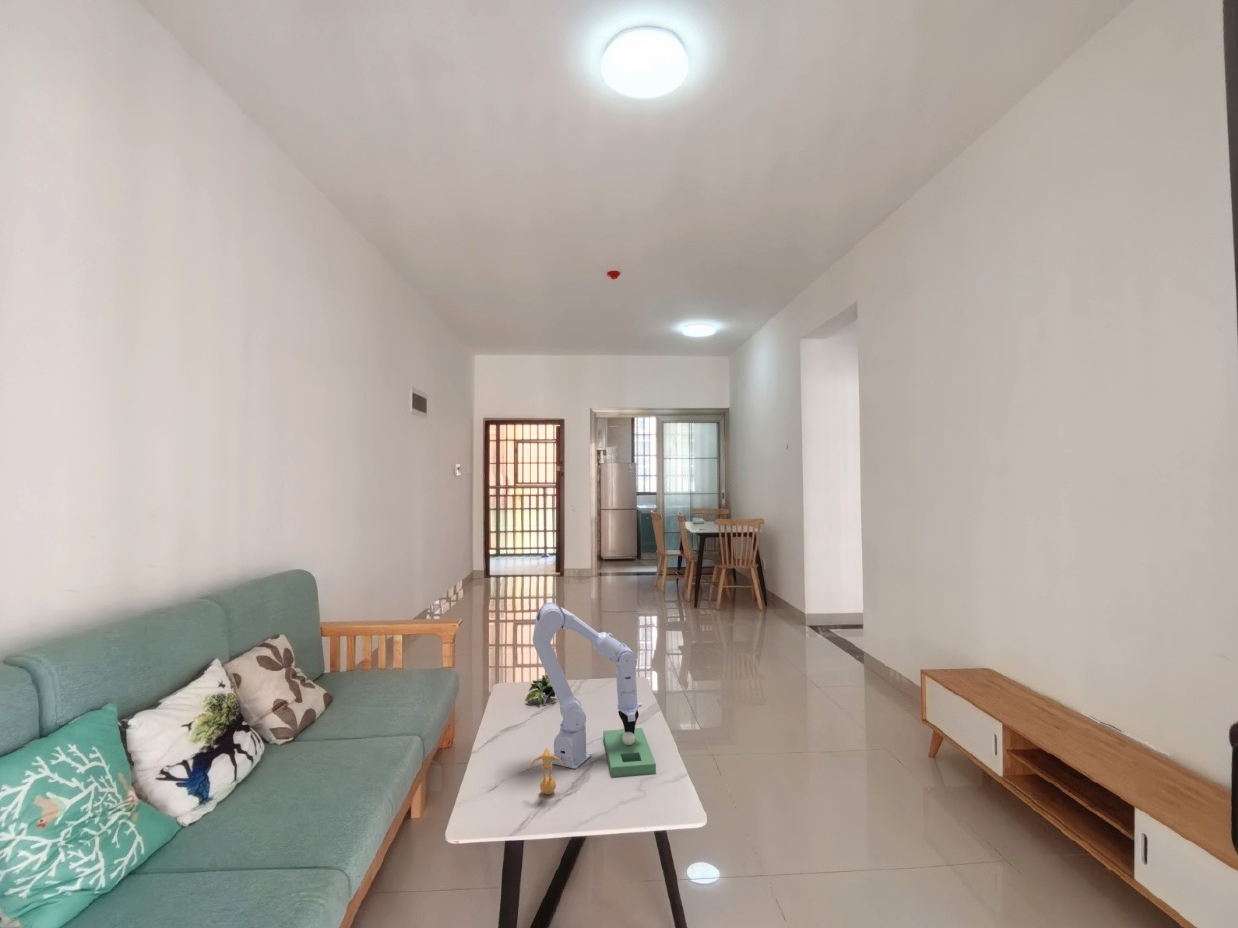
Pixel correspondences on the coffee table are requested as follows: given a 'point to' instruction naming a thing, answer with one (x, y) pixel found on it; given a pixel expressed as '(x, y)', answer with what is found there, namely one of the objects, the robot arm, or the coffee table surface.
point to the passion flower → (541, 689)
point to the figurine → (547, 782)
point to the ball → (628, 738)
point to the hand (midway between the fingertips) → (630, 736)
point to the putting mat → (628, 754)
